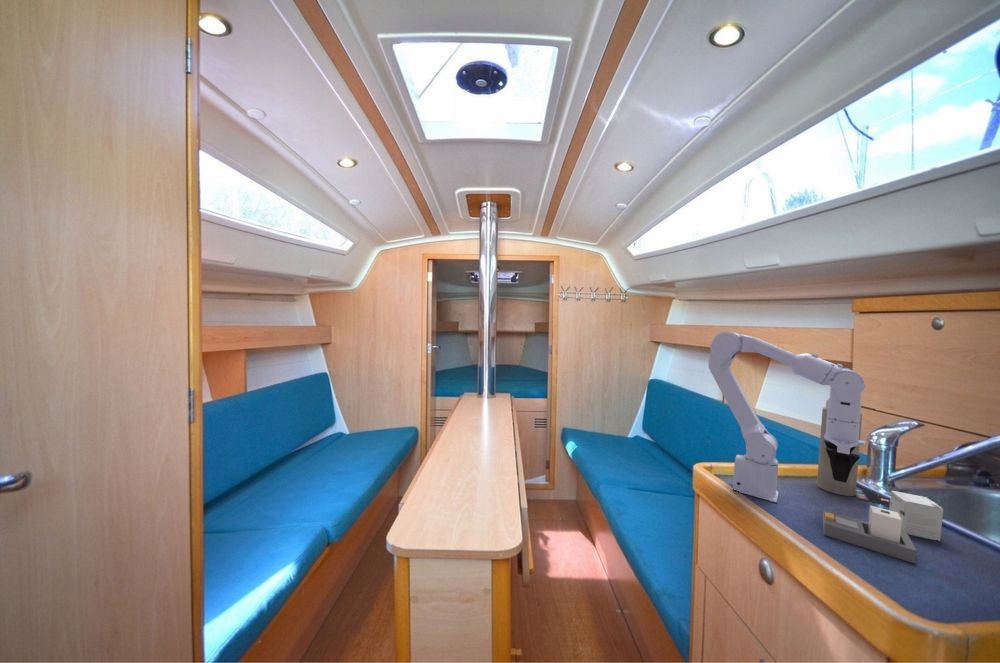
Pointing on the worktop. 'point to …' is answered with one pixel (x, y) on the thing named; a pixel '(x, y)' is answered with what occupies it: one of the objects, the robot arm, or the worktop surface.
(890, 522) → the light grey rectangular block
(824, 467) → the thermos bottle
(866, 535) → the sliding tray box
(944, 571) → the worktop surface
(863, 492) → the smartphone
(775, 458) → the robot arm
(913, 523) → the skincare box
